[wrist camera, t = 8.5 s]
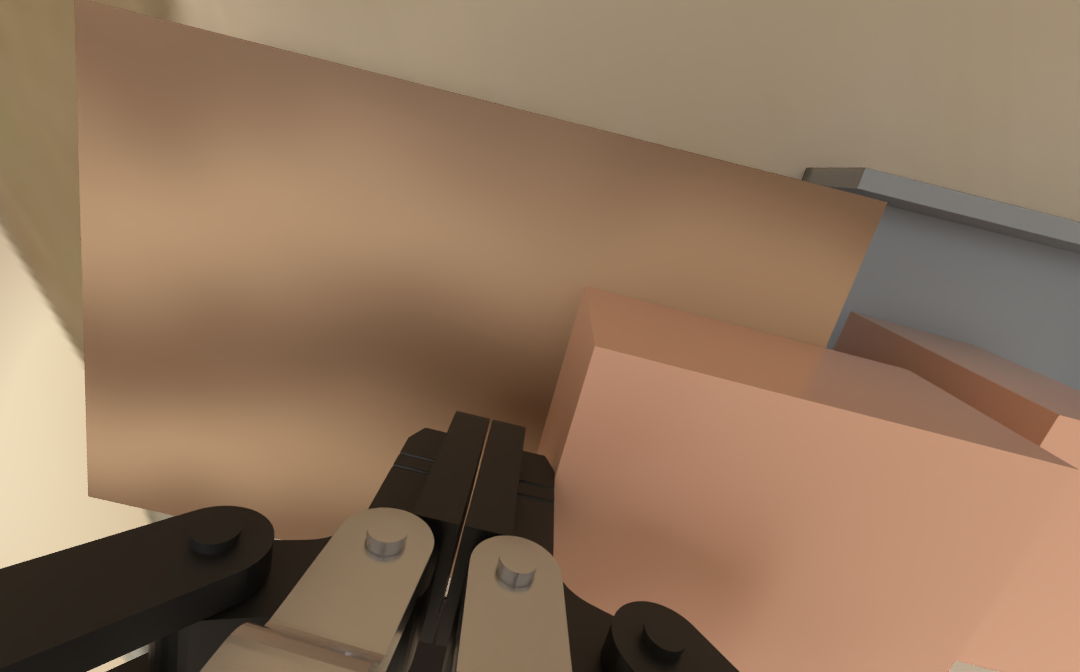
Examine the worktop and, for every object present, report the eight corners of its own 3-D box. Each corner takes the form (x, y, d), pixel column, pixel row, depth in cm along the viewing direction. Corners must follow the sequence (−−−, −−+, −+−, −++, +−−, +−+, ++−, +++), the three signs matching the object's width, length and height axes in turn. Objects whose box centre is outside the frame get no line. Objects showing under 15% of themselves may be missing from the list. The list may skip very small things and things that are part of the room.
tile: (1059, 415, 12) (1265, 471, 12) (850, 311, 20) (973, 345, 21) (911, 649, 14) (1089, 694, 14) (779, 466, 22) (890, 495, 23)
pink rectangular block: (584, 285, 14) (594, 346, 9) (908, 369, 14) (1079, 470, 10) (521, 505, 16) (503, 646, 11) (805, 574, 16) (903, 740, 12)
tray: (806, 167, 20) (865, 167, 16) (1210, 269, 20) (1364, 294, 16) (672, 526, 24) (692, 592, 20) (1001, 601, 25) (1080, 680, 21)
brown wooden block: (244, 56, 19) (74, -3, 13) (778, 190, 20) (887, 202, 13) (223, 402, 23) (88, 496, 17) (664, 504, 24) (703, 634, 17)
